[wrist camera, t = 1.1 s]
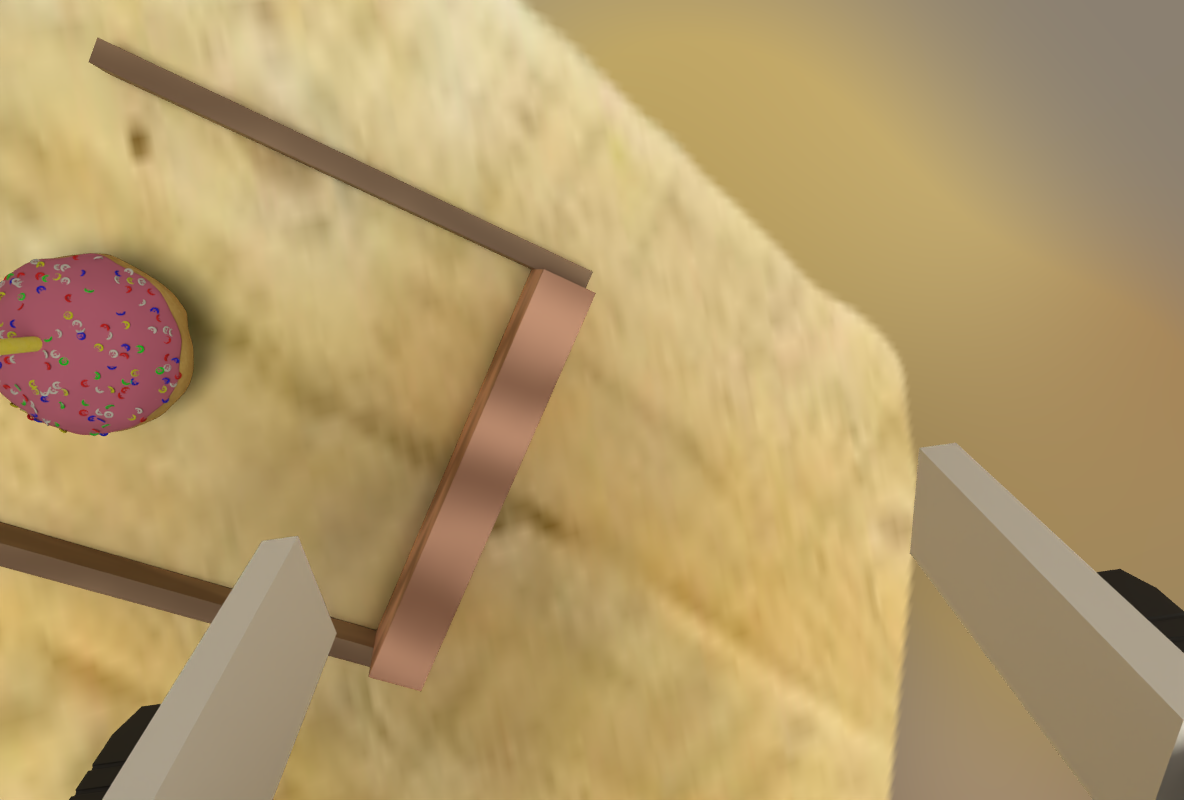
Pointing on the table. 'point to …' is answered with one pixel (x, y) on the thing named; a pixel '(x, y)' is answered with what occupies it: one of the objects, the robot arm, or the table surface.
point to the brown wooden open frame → (476, 462)
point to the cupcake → (91, 344)
